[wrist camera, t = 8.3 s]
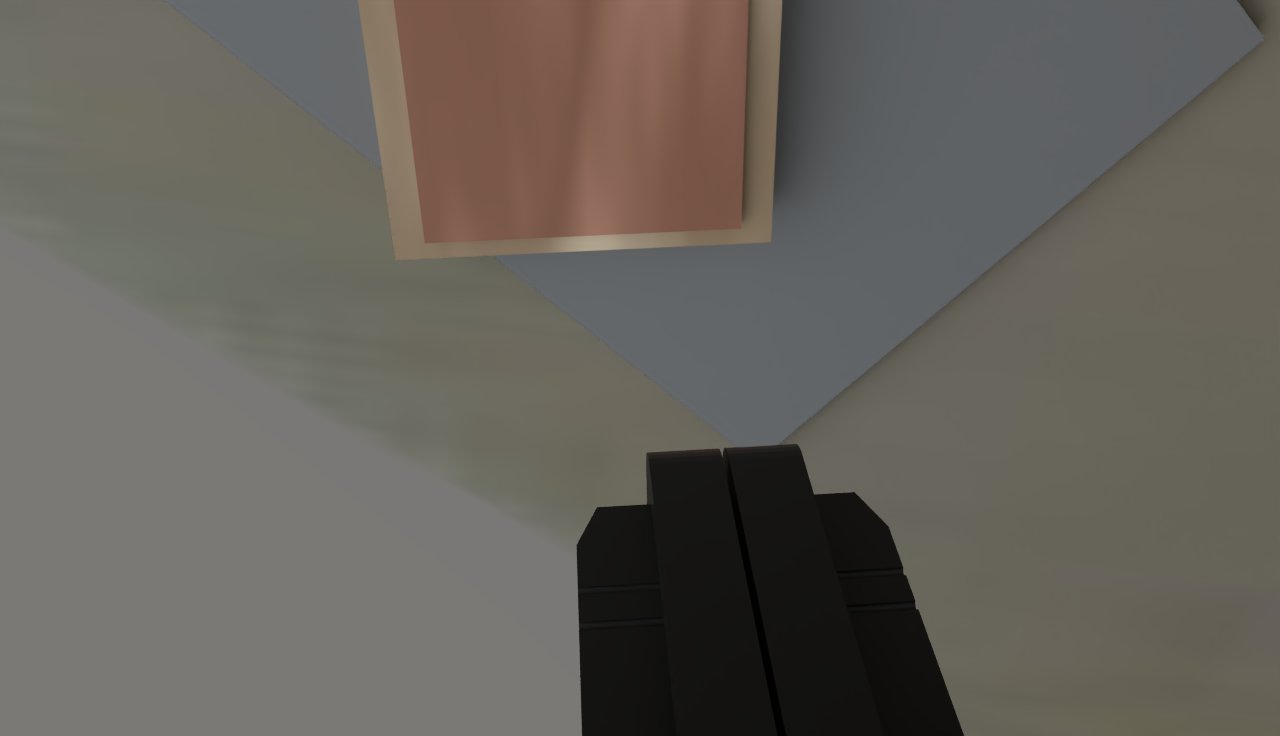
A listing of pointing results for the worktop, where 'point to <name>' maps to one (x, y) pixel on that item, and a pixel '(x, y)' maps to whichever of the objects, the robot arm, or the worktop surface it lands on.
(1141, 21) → the rubber mat
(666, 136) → the birch tile
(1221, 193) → the worktop surface
